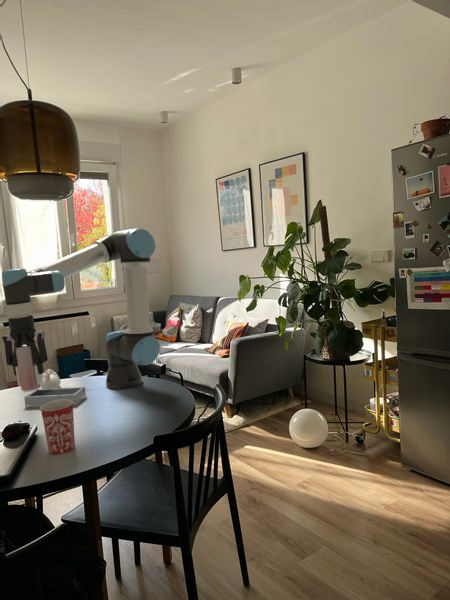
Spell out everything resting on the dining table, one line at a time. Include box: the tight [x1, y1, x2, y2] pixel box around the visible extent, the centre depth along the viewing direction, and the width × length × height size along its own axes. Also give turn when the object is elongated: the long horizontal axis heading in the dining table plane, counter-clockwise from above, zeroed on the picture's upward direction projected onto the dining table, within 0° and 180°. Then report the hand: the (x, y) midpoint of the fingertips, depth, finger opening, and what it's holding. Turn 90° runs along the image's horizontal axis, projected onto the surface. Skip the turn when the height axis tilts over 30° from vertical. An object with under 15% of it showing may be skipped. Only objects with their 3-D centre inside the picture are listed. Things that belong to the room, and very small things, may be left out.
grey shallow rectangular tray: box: [24, 386, 87, 409], centre depth 176 cm, size 20×10×4 cm, turn 85°
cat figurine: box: [40, 368, 62, 389], centre depth 192 cm, size 10×8×15 cm
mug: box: [39, 399, 76, 455], centre depth 133 cm, size 13×9×14 cm
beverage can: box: [15, 344, 41, 393], centre depth 151 cm, size 6×6×15 cm
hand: (30, 383), depth 152 cm, fingers closed on beverage can, 6 cm apart
